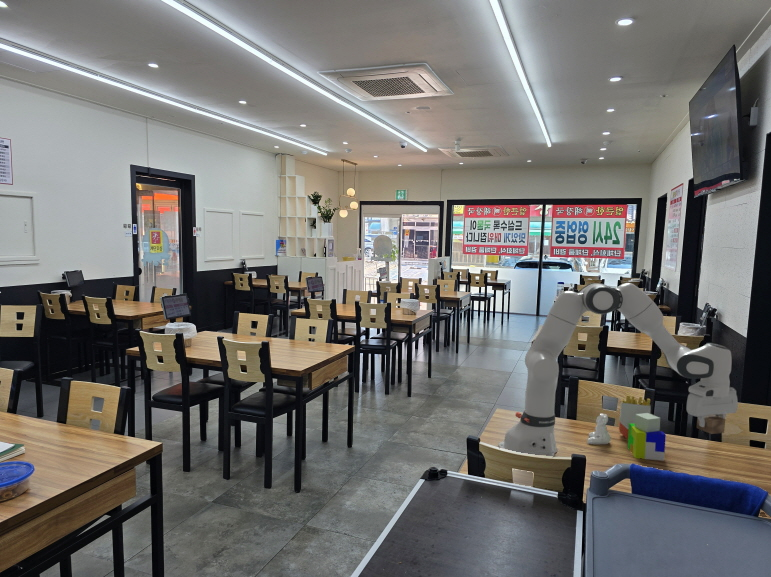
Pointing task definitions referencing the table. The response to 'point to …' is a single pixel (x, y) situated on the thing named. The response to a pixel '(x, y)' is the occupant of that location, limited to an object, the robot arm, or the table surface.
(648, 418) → the brick
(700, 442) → the table surface
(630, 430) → the puzzle toy
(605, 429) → the white creature statuette
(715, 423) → the brick
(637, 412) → the french fries container
